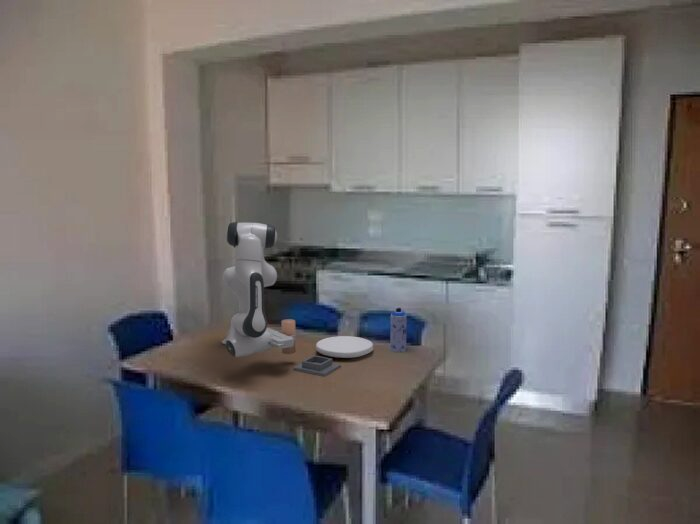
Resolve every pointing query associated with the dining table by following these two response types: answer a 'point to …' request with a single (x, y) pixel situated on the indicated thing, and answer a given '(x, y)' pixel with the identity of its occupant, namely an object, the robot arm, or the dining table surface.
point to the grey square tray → (317, 366)
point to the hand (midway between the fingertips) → (290, 334)
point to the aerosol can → (398, 331)
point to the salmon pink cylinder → (288, 334)
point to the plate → (344, 346)
